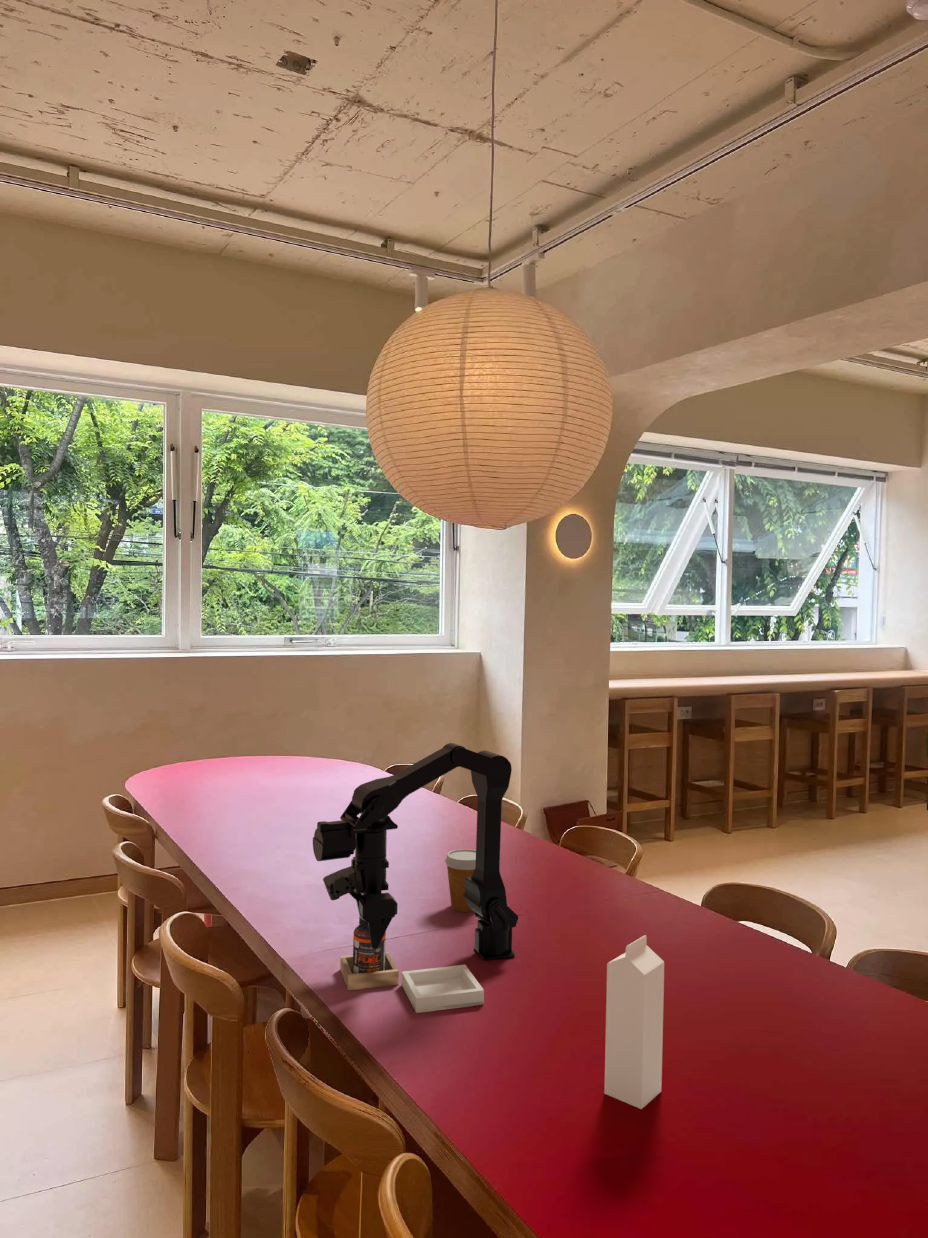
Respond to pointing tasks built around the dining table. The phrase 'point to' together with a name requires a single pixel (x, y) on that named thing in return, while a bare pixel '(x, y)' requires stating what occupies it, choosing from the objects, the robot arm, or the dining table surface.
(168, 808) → the dining table surface
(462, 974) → the tray
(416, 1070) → the dining table surface
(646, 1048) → the milk
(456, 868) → the disposable coffee cup
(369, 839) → the robot arm
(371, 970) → the supplement bottle
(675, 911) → the dining table surface
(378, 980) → the collar
